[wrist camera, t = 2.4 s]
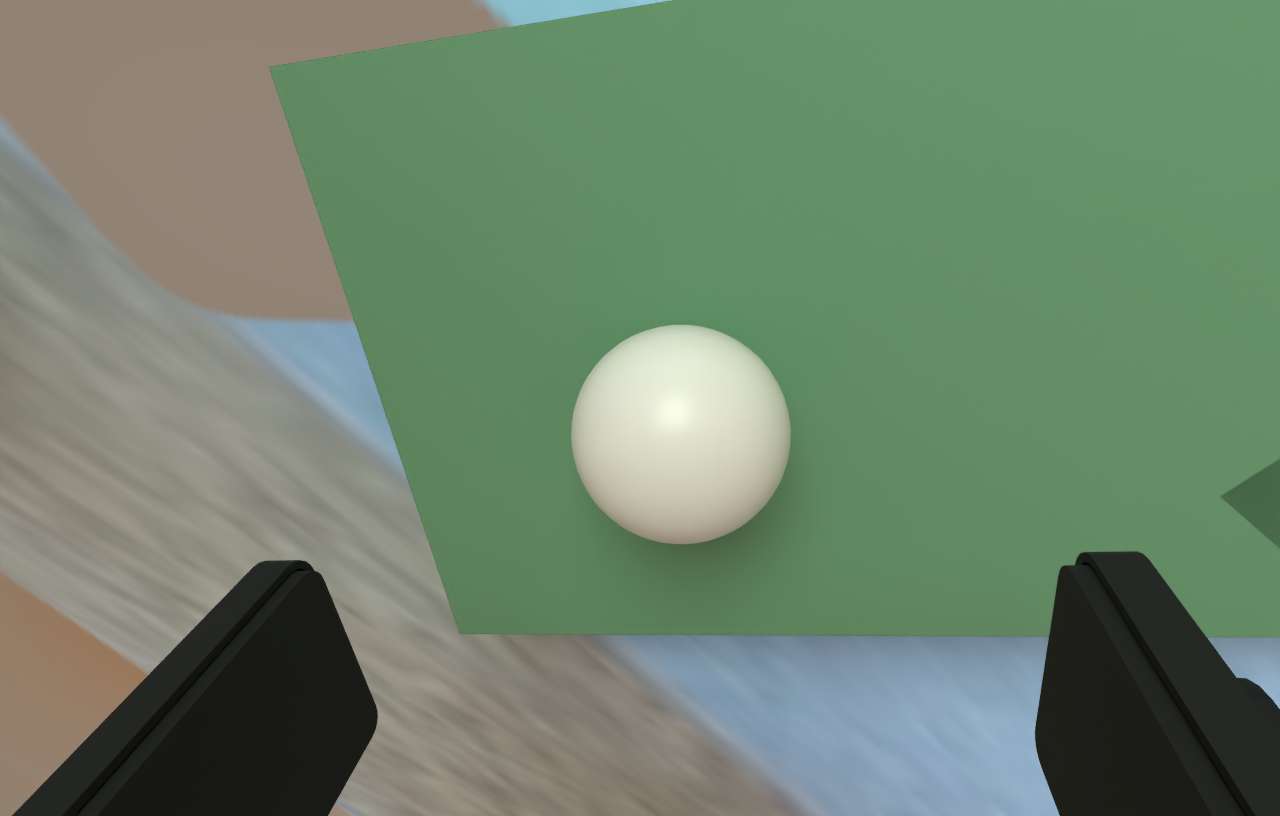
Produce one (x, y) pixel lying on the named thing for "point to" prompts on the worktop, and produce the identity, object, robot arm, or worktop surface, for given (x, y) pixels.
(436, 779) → the worktop surface
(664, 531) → the ball
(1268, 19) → the putting mat
